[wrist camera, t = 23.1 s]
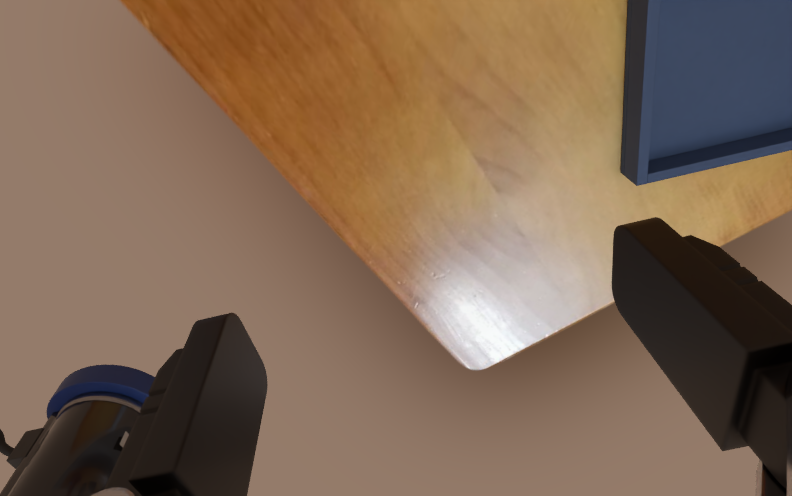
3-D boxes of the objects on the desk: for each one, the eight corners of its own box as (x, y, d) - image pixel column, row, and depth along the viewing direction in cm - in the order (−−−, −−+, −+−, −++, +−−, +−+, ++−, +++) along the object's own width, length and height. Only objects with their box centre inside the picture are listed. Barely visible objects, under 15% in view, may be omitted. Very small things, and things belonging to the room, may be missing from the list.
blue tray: (620, 172, 38) (636, 186, 36) (628, -16, 31) (649, -14, 29) (817, 126, 37) (846, 137, 35) (872, -78, 30) (913, -80, 28)
